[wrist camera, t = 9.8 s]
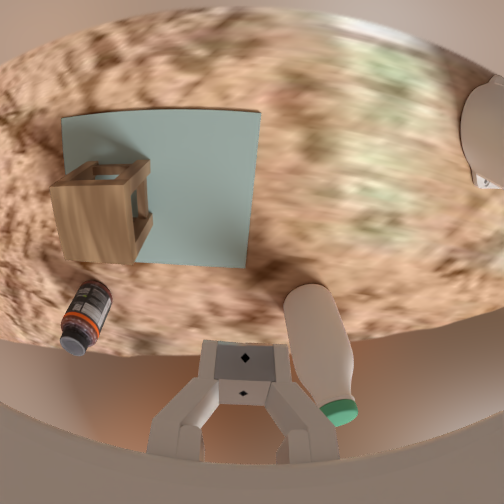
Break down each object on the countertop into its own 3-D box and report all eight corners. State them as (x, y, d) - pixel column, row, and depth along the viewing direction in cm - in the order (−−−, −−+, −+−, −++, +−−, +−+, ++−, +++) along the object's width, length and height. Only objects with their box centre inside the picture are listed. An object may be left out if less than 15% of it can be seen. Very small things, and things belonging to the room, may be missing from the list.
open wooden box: (123, 185, 23) (49, 186, 22) (133, 265, 27) (64, 259, 27) (150, 159, 30) (87, 161, 30) (153, 224, 35) (94, 222, 34)
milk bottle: (273, 297, 43) (291, 422, 26) (319, 273, 41) (362, 395, 24) (296, 326, 46) (319, 438, 29) (339, 305, 44) (378, 415, 27)
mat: (260, 113, 29) (261, 113, 28) (245, 266, 39) (245, 268, 39) (62, 117, 27) (61, 118, 26) (81, 256, 37) (80, 257, 37)
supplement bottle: (97, 311, 43) (74, 363, 34) (74, 286, 40) (45, 337, 31) (121, 301, 42) (99, 356, 32) (97, 273, 39) (67, 327, 29)
